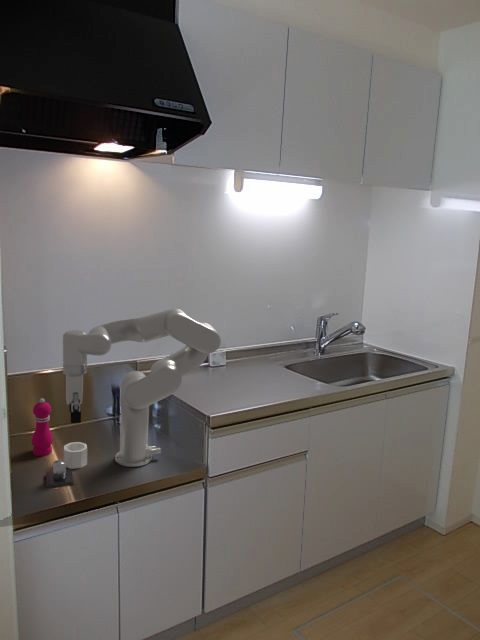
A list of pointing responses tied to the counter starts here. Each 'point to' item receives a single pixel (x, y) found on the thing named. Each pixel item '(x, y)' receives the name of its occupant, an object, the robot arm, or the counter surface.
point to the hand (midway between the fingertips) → (75, 417)
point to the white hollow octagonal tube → (75, 455)
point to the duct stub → (59, 475)
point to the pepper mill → (42, 429)
